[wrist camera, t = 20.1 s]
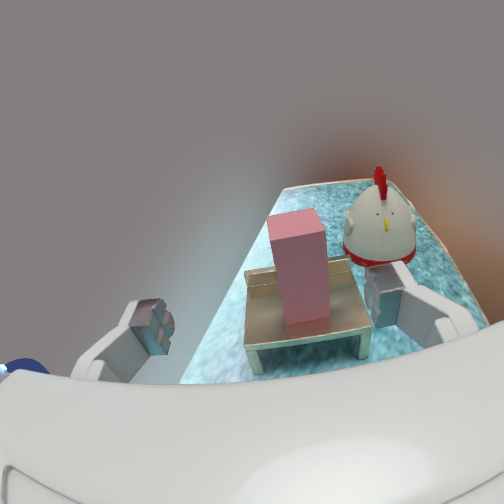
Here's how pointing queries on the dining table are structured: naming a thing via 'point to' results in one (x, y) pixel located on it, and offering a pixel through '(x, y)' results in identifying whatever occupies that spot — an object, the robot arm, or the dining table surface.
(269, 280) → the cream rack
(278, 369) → the dining table surface
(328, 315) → the pink carton
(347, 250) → the kitchen timer
